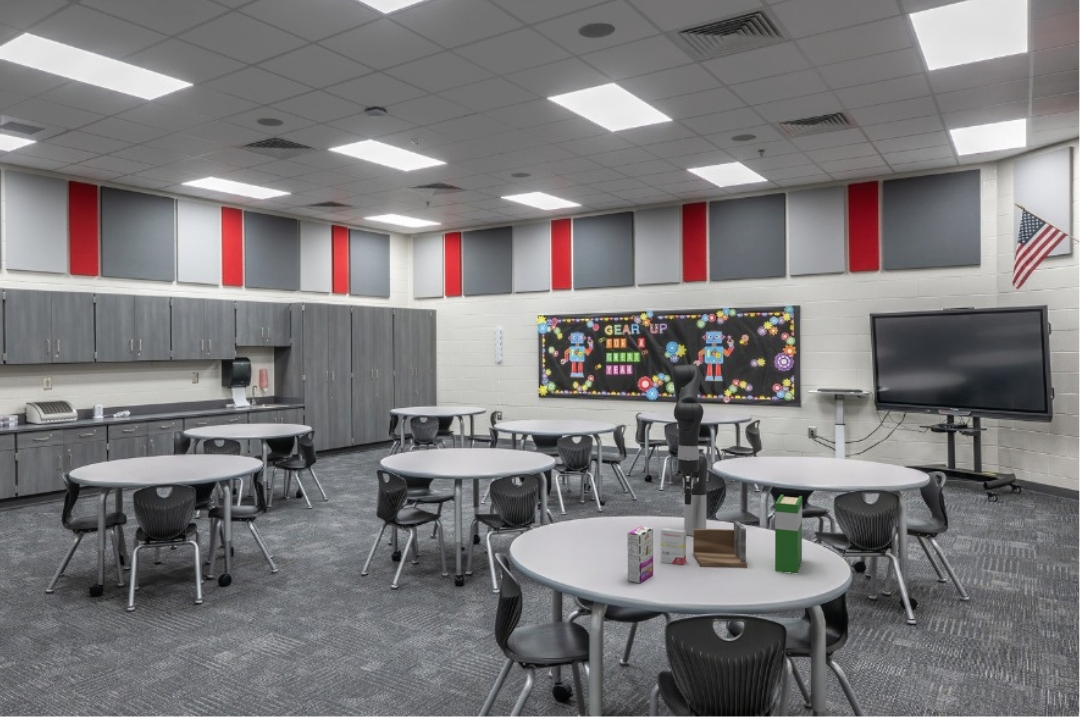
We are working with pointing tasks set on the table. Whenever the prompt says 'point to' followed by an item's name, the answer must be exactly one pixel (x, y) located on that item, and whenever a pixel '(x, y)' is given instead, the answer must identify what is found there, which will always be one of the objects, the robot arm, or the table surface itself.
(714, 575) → the table surface
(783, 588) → the table surface
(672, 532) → the ink box
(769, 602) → the table surface
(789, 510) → the hardback book
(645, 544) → the candy bar box
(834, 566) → the table surface
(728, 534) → the wooden book holder
